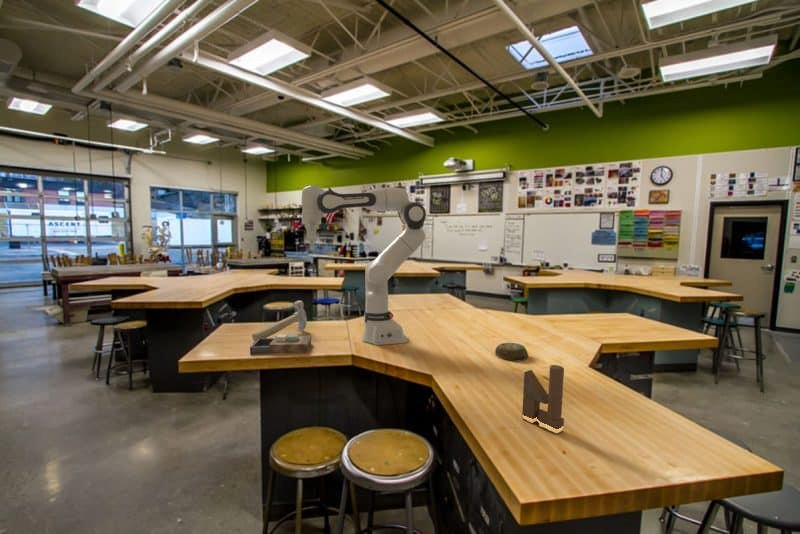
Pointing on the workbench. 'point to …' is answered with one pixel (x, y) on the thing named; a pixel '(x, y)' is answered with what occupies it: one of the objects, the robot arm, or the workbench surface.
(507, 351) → the weight
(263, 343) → the tray
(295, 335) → the tile
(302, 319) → the hammer
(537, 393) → the brown letter n
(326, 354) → the workbench surface
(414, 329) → the workbench surface
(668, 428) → the workbench surface
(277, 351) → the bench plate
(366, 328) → the robot arm
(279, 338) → the tile
